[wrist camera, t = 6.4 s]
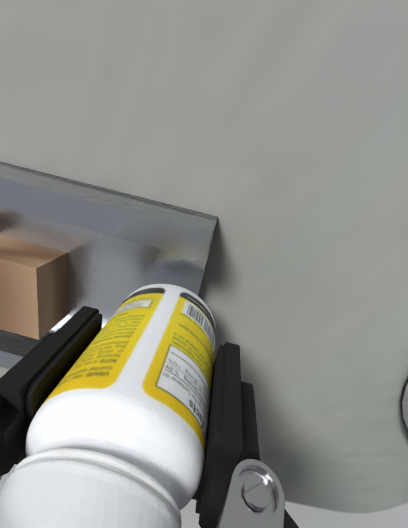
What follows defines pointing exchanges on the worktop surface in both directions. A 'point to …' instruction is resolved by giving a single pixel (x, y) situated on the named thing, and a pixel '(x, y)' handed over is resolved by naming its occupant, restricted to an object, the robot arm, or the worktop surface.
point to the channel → (100, 242)
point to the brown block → (31, 287)
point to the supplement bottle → (122, 423)
